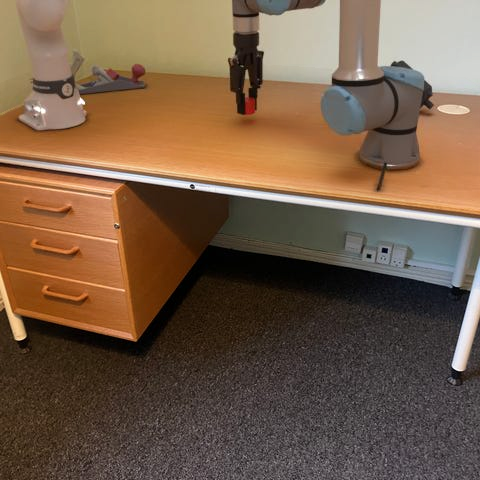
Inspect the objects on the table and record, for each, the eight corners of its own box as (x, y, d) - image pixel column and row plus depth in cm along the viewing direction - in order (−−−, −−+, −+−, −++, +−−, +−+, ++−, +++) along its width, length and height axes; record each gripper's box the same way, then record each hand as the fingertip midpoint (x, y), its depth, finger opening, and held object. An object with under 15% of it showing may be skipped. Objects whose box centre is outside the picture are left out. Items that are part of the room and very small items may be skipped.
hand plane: (62, 90, 197) (53, 48, 189) (145, 82, 205) (140, 41, 197) (62, 96, 191) (54, 53, 184) (148, 87, 199) (143, 45, 191)
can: (251, 115, 161) (251, 102, 159) (237, 114, 163) (237, 100, 160) (257, 111, 164) (257, 98, 162) (243, 109, 166) (243, 96, 164)
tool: (372, 91, 179) (399, 54, 168) (415, 128, 175) (445, 93, 164) (364, 95, 175) (390, 58, 165) (407, 134, 171) (437, 98, 160)
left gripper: (-112, -8, 101) (-87, 66, 109) (-13, -19, 115) (3, 47, 122) (-127, -10, 105) (-101, 62, 112) (-29, -20, 118) (-12, 44, 126)
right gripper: (256, 25, 159) (256, 102, 171) (214, 35, 148) (218, 116, 160) (275, 28, 155) (274, 106, 167) (234, 38, 144) (236, 121, 156)
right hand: (247, 111), depth 163 cm, fingers closed on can, 5 cm apart
